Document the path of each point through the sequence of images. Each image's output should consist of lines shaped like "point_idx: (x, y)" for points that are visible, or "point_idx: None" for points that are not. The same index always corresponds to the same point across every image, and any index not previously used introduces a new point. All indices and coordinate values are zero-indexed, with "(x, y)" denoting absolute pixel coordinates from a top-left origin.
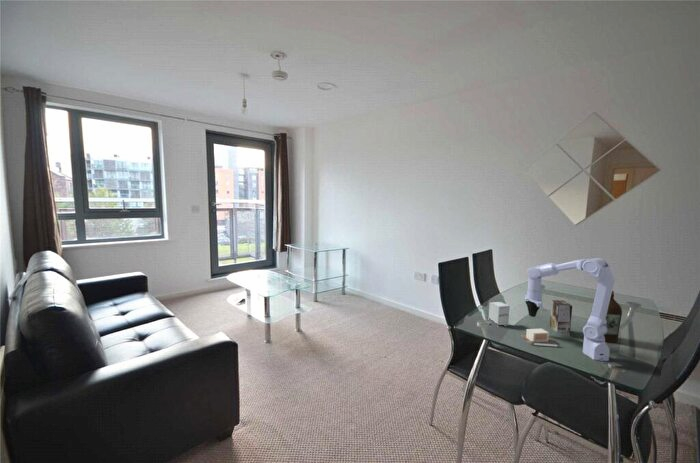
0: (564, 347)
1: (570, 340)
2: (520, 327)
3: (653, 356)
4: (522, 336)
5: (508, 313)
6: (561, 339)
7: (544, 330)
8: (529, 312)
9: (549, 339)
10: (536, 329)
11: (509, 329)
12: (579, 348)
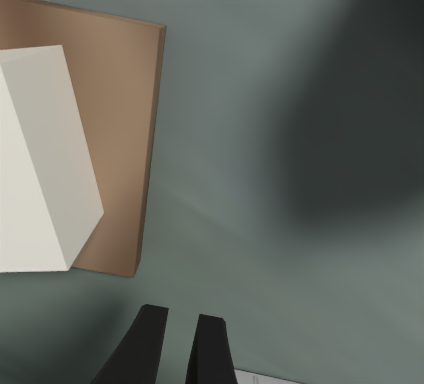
0: (5, 281)
1: None
2: (413, 197)
3: None
4: (95, 21)
5: None
6: None
7: (11, 266)
8: (196, 364)
9: None
10: (19, 196)
11: (394, 33)
12: (14, 351)
